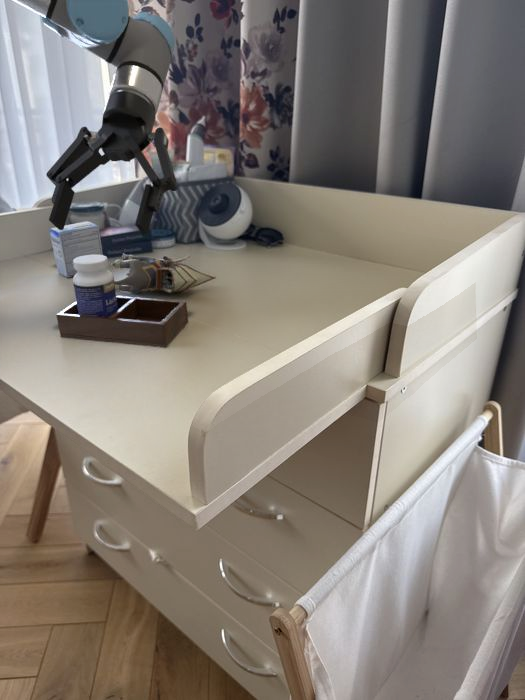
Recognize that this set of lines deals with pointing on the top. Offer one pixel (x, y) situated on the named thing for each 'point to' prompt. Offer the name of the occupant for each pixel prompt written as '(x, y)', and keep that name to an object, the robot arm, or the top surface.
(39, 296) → the top surface
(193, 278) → the figurine
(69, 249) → the medicine box
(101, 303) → the pill bottle
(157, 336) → the tray
